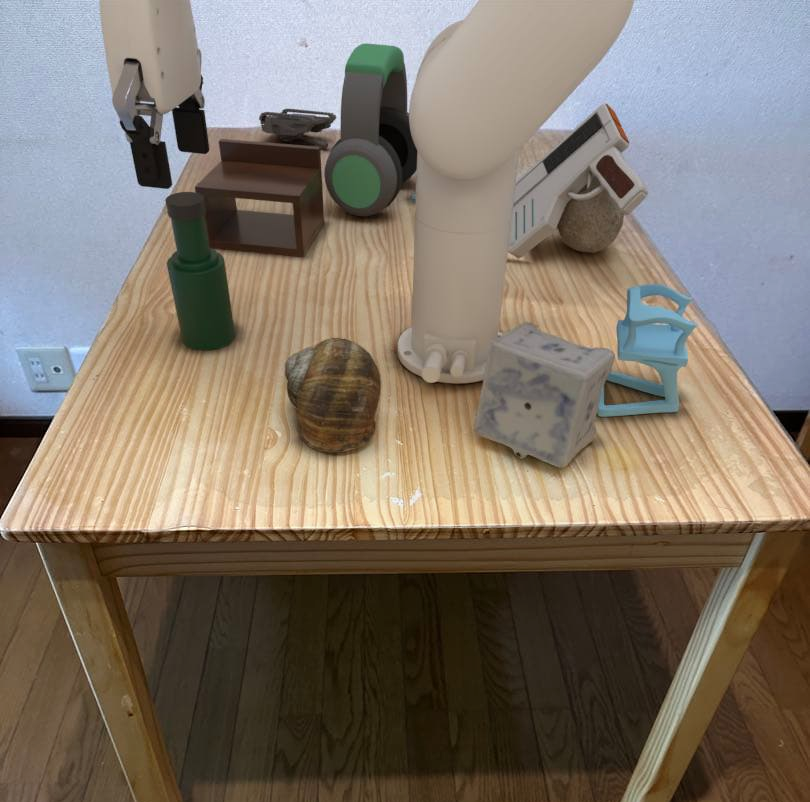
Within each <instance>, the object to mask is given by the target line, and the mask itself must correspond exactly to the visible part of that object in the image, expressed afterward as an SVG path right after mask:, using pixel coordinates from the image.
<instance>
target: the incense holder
mask: <svg viewBox="0 0 810 802" xmlns="http://www.w3.org/2000/svg"><path fill="white" fill-rule="evenodd" d="M615 360H616V354H615V352H614V350H611V349H610V348H606V347H587V346H585V345H580V344H577V343H574V342H571V341H569V340H567V339H564V338H562V337H559V336H557V335H554V334H549V333H548V332H545V331H542V330H539V325H537V324H534V323H533V322H529V321H524V322H523V323H520V324H518V325H515V327H513V328H512V329H510V330H508V331H507V332H505V333H504V334H503V335H502V336H500V337H499V338H497V339H496V340H493V341H491V345H490V348H489V351H488V357H487V362H486V367H485V372H484V380H482V386H481V390H480V394H479V395H480V396H479V402H478V408H477V412H476V416H475V419H474V425H473V426H474V429H473V431H474V433H476V434H477V436H479V437H482V438H485V439H486V440H490V441H492V442H495V443H499V444H502V445H504V446H506V447H509V448H510V449H511V450H512V452H513V453H514V455H515V456H516V457H517V458H518V459H520V460H523V459H525V458H526V457H527V456H528V455H529V456H531V457H534V458H536V459H537V460H540V461H542V462H545V463H548V464H549V465H551V466H553V467H556V468H565V467H567V466H568V465H569V463H570V462H571V461H573V459H574V458H575V457H576V456H577V455H578V453H580V452H581V451H582V449H583V448H585V447H586V446H588V445H589V444H590V443H592V442H594V441H595V436H596V432H597V426H596V425H595V424H596V422H597V411H598V405H599V401H600V398H601V393H602V388H603V386H604V387H605V383H606V381H607V380H606V379H607V377H608V376H609V374H610V372H611V371H613V365H614V362H615Z"/></svg>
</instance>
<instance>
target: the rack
mask: <svg viewBox="0 0 810 802" xmlns="http://www.w3.org/2000/svg"><path fill="white" fill-rule="evenodd" d="M218 148H219V155H220V161H219V162H218V163H217V164H216V165H215V166H214V167H213V168H212V169H211V170H210V171H209V172H208V173H207V174H206V175H205V176H204V177H203V178H202V179H201V180H200V181H199V182H198V183H197V184H196V185H195V186H194V191H195V193H199V194H201V195H202V196H203V197H204V201H205V208H206V214H205V220H206V227H207V233H208V239H209V246H210V248H212V249H218V250H229V251H230V250H231V251H237V252H238V251H239V252H240V251H241V252H248V253H250V252H251V253H259V254H270V255H280V256H292V257H299V258H300V257H301V258H304V257H305V256H306V254H307V252H308V251H309V249H310V248H311V247H312V245H313V243H314V241H316V238H317V237H318V235H319V234H320V232H321V230H322V229H323V228H324V226H325V212H324V194H323V192H324V191H323V176H322V175H323V173H322V154H321V147H319V146H314V145H301V144H291V143H289V144H288V143H277V142H264V141H251V140H242V139H240V140H238V139H226V138H220V139H219V140H218ZM236 199H241V200H254V201H264V202H276V203H286V204H292V211H293V214H287V213H278V212H277V213H276V212H268V211H267V212H266V211H254V210H246V209H245V210H243V209H238V208H237V200H236Z"/></svg>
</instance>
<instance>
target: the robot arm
mask: <svg viewBox="0 0 810 802" xmlns="http://www.w3.org/2000/svg"><path fill="white" fill-rule="evenodd" d="M98 2H99V14H100V15H99V16H100V24H101V32H102V39H103V46H104V47H103V48H104V54H105V59H106V66H107V73H108V79H109V84H110V89H111V95H112V98H111V102H112V106H113V109H114V111H115V112H116V114H117V117H118V119H119V125H120V127H121V129H122V130H123V131H124V133H125V134H124V135H125V139H126V142H128V143H129V145H130V151H131V156H132V162H133V165H134V169H135V176H136V181H137V184H138V185H139V186H140V187H145V188H154V189H155V188H156V189H164V190H169V189H170V188H172V186H173V179H172V174H171V173H172V172H171V168H170V162H169V156H168V150H167V144H166V141H162V140H161V137H162V128H163V120H164V115H167V114H168V113H170V112H171V114H172V121H173V127H174V133H175V139H176V146H177V149H178V151H179V152H182V153H189V154H190V153H191V154H200V155H201V154H202V155H206V154H208V153H209V152H210V142H209V135H208V134H209V133H208V128H207V120H206V112H205V107H206V101H205V96H204V94H203V91H202V89H203V85H204V77H203V75H202V51H201V49H200V48H199V45H198V39H197V33H196V26H195V20H194V15H193V9H192V4H191V0H99V1H98ZM634 3H635V0H477V2H476V3H475V4H474V5H473V7H472V9H471V10H470V11H469V12H468V14H467V15H466V16H465V18H464V19H461V20H458V21H456V22H454V23H452V24H450V25H448V26H447V27H445V28H444V29H443V30H441V31H440V32H439V33H438V34H437V35H436V37H435V38H434V39H433V40H432V42H431V43H430V44H429V46H428V47H427V49H426V50H425V53H424V55H423V56H422V57H423V58H422V60H421V62H420V65H419V68H418V71H417V74H416V77H415V82H414V84H413V88H412V91H411V94H410V99H409V104H408V105H409V106H408V113H409V125H410V131H411V135H412V139H413V142H414V144H415V147H416V149H417V170H416V172H415V174H416V175H415V194H416V201H415V200H414V203H415V205H414V207H415V208H414V209H415V210H414V229H413V230H414V231H413V232H414V234H413V237H414V239H413V271H412V273H413V274H412V275H413V276H412V305H411V306H412V308H411V311H412V313H411V326H409V327H408V328H407V329H405V330H403V332H402V333H401V334H400V336H399V337H398V340H397V349H396V352H397V357H398V359H399V361H400V363H401V364H402V365H403V366H404V368H406V369H407V370H408V371H410V372H411V373H413V374H414V375H417V376H419V377H421V378H422V379H423V380H424V381H425V382H426V383H429V384H433V383H436V382H437V383H443V384H471V383H477V382H483V380H484V372H485V367H486V362H487V357H488V351H489V348H490V345H491V341H493V340H496V339H497V338H499V337H500V336H502V335H504V334H503V333H502V332H501V331H500V323H501V316H502V315H501V314H502V306H503V297H504V289H505V281H506V270H507V263H508V254H509V253H508V245H509V236H510V227H511V219H512V212H513V204H514V195H515V185H516V176H517V171H518V165H519V157H520V155H519V154H520V150H521V149H522V148H523V147H524V146H525V145H526V144H527V143H528V142H529V141H530V139H531V138H532V137H534V135H535V134H536V133H537V132H538V131H539V130H540V128H541V127H542V126H544V124H546V122H547V121H548V120H549V119H550V118H551V117H552V115H554V114H555V112H556V111H557V110H558V109H559V108H560V107H561V106H562V105H563V104H564V102H565V101H566V100H567V99H568V98H569V97H570V96H571V95H572V93H573V92H574V91H576V89H577V88H578V87H579V86H580V84H582V83H583V82H584V80H585V79H586V78H587V77H588V76H589V75H590V74H591V73H592V72H593V70H594V69H595V68H596V67H597V66H598V65H599V64H600V62H602V60H603V59H604V58H605V56H606V55H607V54H608V52H609V51H610V50H611V48H613V45H614V44H615V43H616V41H617V40H618V38H619V37H620V35H621V33H622V31H623V30H624V28H625V26H626V24H627V22H628V20H629V18H630V16H631V12H632V9H633V8H634ZM143 116H147V117H150V120H149V121H150V122H149V124H148V122H147V121H146V120H145V119H144V118H143Z"/></svg>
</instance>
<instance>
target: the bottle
mask: <svg viewBox="0 0 810 802" xmlns="http://www.w3.org/2000/svg"><path fill="white" fill-rule="evenodd" d="M164 201H165V206H166V211H167V216H168V217H169V218H170V221H171V227H172V231H173V237H174V243H175V247H176V251H174V252H173V253H172V255H171V256H170V257H169V258H168V259H167V261H166V268H167V273H168V278H169V283H170V288H171V292H172V298H173V303H174V307H175V311H176V312H175V313H176V317H177V322H178V327H179V332H180V337H181V341H182V343H183V344H184V345H185V346H186V347H188V348H189V349H192V350H196V351H214V350H218V349H219V350H220V349H222V348H224V347H227V346H228V345H230V344H231V343H232V342H233V341H234V340H235V338H236V330H235V324H234V316H233V308H232V303H231V302H232V301H231V296H230V289H229V283H228V276H227V269H226V261H225V258H224V256H223V255H222V254H221V253H220V252H218V251H217V250H215V248H210V246H209V239H208V233H207V227H206V220H205V214H206V208H205V201H204V197H203V196H202V195H201V194H199V193H196V192H194V191H179V192H175V193H172V194H170V195H168V196H167V197H166V198H165V200H164Z"/></svg>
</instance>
